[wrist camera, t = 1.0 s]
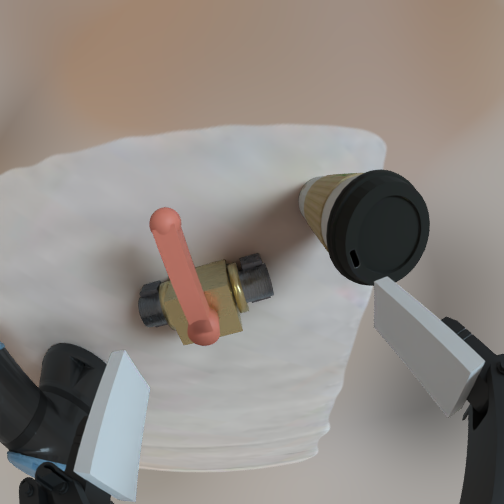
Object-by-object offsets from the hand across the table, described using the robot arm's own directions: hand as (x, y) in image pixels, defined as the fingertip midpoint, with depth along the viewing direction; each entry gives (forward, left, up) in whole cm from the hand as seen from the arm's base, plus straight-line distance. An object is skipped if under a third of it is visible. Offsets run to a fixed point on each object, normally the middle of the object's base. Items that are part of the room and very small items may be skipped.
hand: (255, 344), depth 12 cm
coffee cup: (+12, 0, -22) cm, 25 cm away
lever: (-5, -2, -15) cm, 16 cm away
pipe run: (-5, -7, -22) cm, 24 cm away
